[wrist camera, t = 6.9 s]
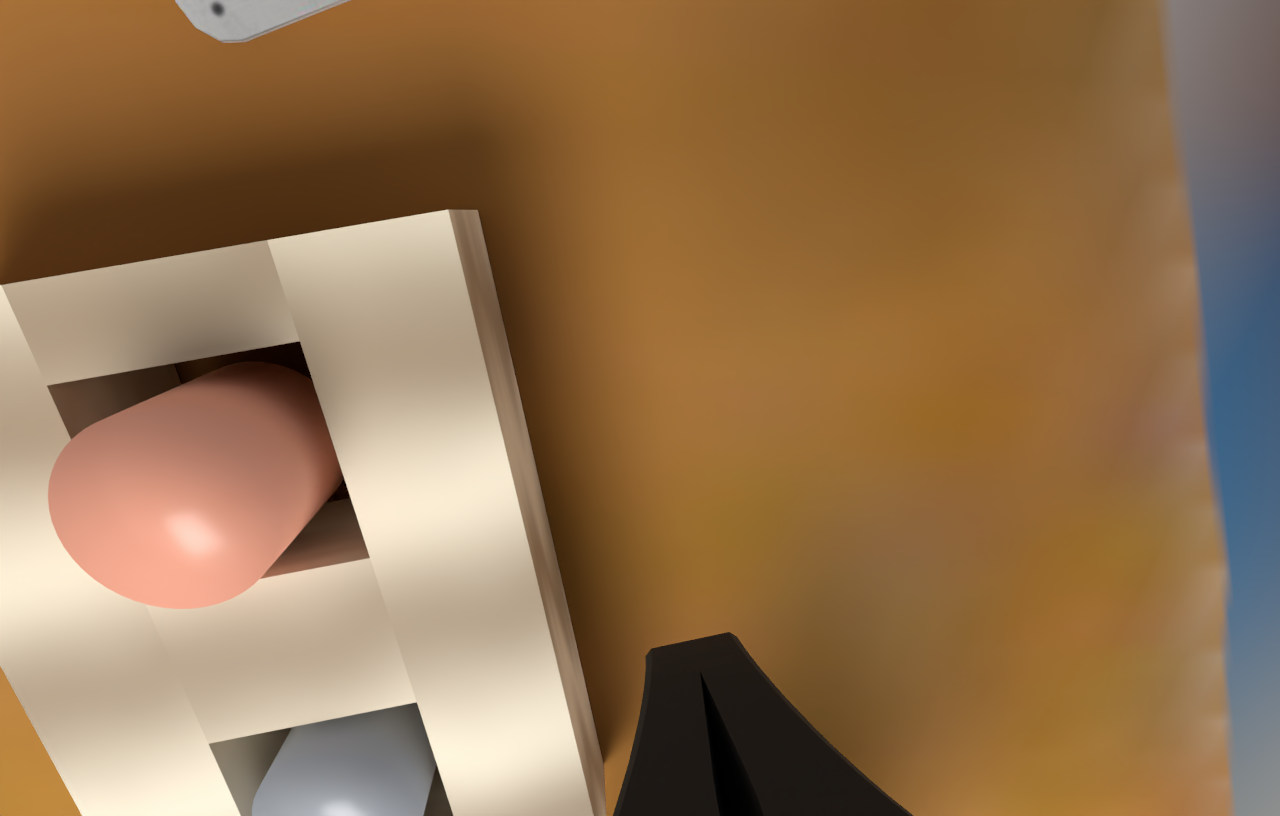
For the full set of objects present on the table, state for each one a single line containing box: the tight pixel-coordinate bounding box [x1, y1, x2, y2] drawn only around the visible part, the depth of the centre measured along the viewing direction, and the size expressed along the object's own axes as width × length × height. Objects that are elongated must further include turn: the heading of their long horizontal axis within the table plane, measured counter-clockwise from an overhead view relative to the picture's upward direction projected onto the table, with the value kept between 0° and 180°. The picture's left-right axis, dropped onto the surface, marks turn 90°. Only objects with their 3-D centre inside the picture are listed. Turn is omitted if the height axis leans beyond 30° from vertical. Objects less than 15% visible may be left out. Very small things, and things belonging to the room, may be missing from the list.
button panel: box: [0, 210, 606, 816], centre depth 17 cm, size 18×12×4 cm, turn 9°
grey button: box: [252, 702, 437, 816], centre depth 18 cm, size 4×4×4 cm
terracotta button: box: [48, 362, 344, 609], centre depth 14 cm, size 4×4×4 cm
